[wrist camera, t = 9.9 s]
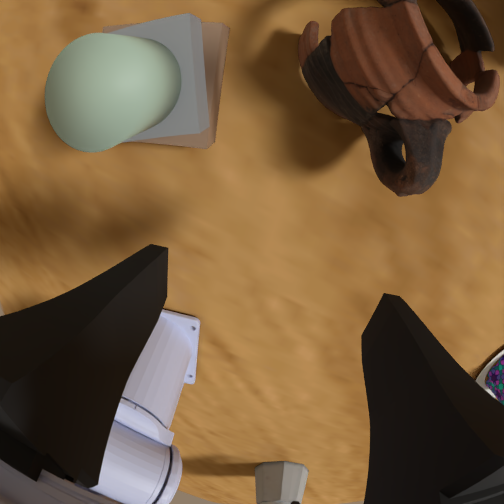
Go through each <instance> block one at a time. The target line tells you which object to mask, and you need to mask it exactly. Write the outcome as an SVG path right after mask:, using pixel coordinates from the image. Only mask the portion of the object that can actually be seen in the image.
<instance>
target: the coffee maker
mask: <svg viewBox="0 0 504 504" xmlns="http://www.w3.org/2000/svg"><path fill="white" fill-rule="evenodd" d="M308 472H309V471H308V469H307V468H306V467H305V466H304V465H303V464H298V463H292V462H287V461H277V462H263V463H262V464H260V465H258V466H257V467H255V482H256V502H257V504H301V501H302V497H303V493H304V489H305V485H306V481H307V476H308Z"/></svg>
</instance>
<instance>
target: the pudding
mask: <svg viewBox="0 0 504 504" xmlns="http://www.w3.org/2000/svg"><path fill="white" fill-rule="evenodd" d="M501 356H502V357H501ZM500 357H501V358H500ZM499 358H500V359H499ZM498 359H499V361H498V364H497V365H495V366H494V367H492V366H493V364H494V363H495V362H496V361H497V360H498ZM491 367H492V368H491ZM490 368H491V370H490ZM489 370H490V371H489ZM488 371H489V372H488ZM487 373H488V375H487ZM486 375H487V376H488V377H489V378H488V380H487V381H486V385H487V386H488V387H487V386H486V385H485V377H486ZM476 382H477V383H478V384H479V385H480V386H481V387H482V388H483V389H485V390H486V391H487V392H488V393H489V394H490V395H492V396H493V397H494V398H497V399H498V401H499V402H500V403H501V404H503V405H504V350H503V351H501V352H500V353H499V354H498V355H497V356H496V357H494V358H493V359H492V360H491V361H490V362H489V363H488V364H487V365H486V367H485V368H484V369H483V370H482V371H481V373H480V374H479V376H478V377H477V379H476Z"/></svg>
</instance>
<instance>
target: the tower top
mask: <svg viewBox="0 0 504 504" xmlns="http://www.w3.org/2000/svg"><path fill="white" fill-rule="evenodd" d="M107 34H117V35H125V36H133V37H141V38H147V39H152V40H155V41H158V42H160V43H162V44H163V45H165V46H166V47H167V48H168V49H169V50H170V51H171V52H172V53H173V55H174V56H175V58H176V60H177V61H178V64H179V67H180V71H181V78H182V82H181V91H180V95H179V98H178V101H177V103H176V105H175V107H174V109H173V110H172V111H171V113H170V114H169V115H168V116H167V117H166V118H165V119H164V120H163V121H162V122H160V123H159V124H157V125H156V126H154V127H152V128H150V129H147V130H145V131H143V132H141V133H139V134H137V135H135V136H133V137H131V138H129V139H127V140H125V141H123V142H129V141H136V140H143V139H151V138H159V137H167V136H177V135H187V134H198V133H201V132H202V131H204V130H205V129H207V128H208V127H210V124H209V114H208V103H207V92H206V80H205V67H204V54H203V41H202V26H201V19H199V18H198V17H196V16H194V15H192V14H190V13H187V14H181V15H176V16H171V17H166V18H162V19H157V20H153V21H149V22H145V23H141V24H137V25H133V26H130V27H126V28H123V29H119V30H116V31H113V32H110V33H107ZM121 143H122V142H121Z"/></svg>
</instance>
